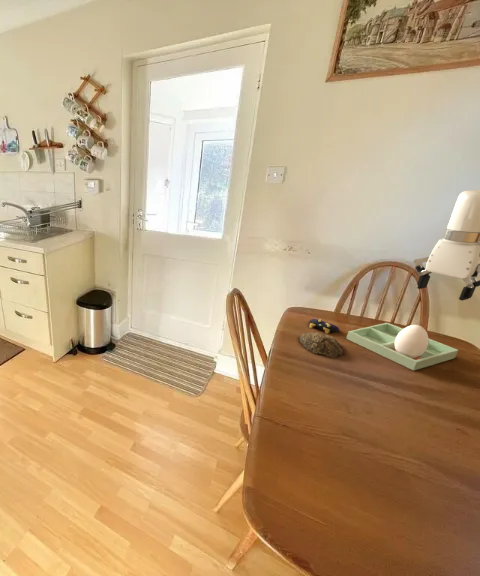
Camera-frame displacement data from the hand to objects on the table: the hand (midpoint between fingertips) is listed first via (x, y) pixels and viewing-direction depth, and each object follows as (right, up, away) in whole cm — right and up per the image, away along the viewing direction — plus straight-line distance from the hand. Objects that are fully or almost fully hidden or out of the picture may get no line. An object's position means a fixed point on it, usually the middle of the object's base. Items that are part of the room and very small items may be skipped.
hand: (441, 293), depth 93 cm
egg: (-1, -21, +10) cm, 23 cm away
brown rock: (-24, -20, +17) cm, 35 cm away
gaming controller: (-15, -15, +29) cm, 36 cm away
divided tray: (+2, -20, +16) cm, 25 cm away
